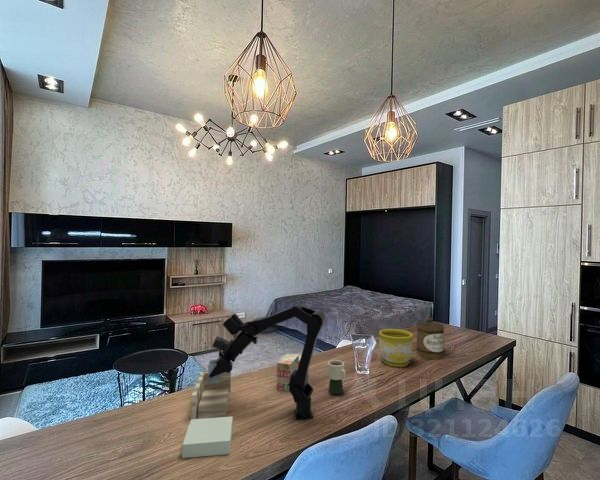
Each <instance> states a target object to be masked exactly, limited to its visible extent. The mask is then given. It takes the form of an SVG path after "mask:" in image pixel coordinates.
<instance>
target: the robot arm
mask: <svg viewBox="0 0 600 480" xmlns="http://www.w3.org/2000/svg"><path fill="white" fill-rule="evenodd" d="M292 318H297V319H298V320H299V321H301V322H302V323H303V324H306V337H305V338H306V339H305V342H304V345H303V348H302V353H301V354H300V355H301V359H300V363H299V366H298V370H296V369H295V370H294V372H293V373H292V374H291V377H290V382H289V384H288V386H289V391H290V392H289V391H288V392H289V393H290V394H291V396H292V397H293V401H294V403H295V409H294V410H293V412H294V416H295V419H296V420H298V421H299V420H309V419H311V420H312V419H314V414H313V412H312V397H311V396H312V395H313V392H314V388H313V387H312V386H311V385H310V383H309V378H310V377H309V376H310V375H309V370H310V369H309V368H310V366H311V362H312V358H313V355H314V352H315V347H316V344H317V340H318V337H319V336H320V333H321V331H322V330H323V327H324V325H325V323H326V321H327V317H326V315H325V314H324V313H323V312H322V311H320V310H317V311H316V310H314V309H312V308H309V307H304V306H302V305H300V304H294V305H293V306H291V307H289V308H287V309H284V310H281V311H279V312H277V313H274V314H272V315H269V316H262V317H257V318H255V319H253V320H250V321H246V322H243V321H242V320H241V318H239V316H238V315H237V313H234V314H232V315H231V316H230V317H229V318H228V319H226V320H225V321H224V322H223V323H222V327H223V328H225V330H226V331H227V332H228V333H229V335H231V336H236V337H235V338H234V339H230V341H229V340H227V339H224V338H222V337H220V336H216V337H215V338H214V341H213V343H212V345H211V347H212V348H214V349H217V350H219V351H218V357H217V358H216V359H217V361H216V363H217V365H216V366H215V368H214V369H213V370H212V372H211V373H210V375H209V377H210V378H211V377H214V376H216V375H219V374H222V373H224V372H227V373H228V374H229V372H230V371H231V372H232V370H233V365H234V364H233V363H234V362H235V361H236V359H237V358H238V357H239V355H242V354H243V353H244V350H245V349H247V348H248V346H249V345H250V344H252V343H253V344H254V345H256V344H258V338H259V337H258V336H257V335H260V333H262V332H263V331H265V330H267V329H269V328H270V327H272V326H275V325H278V324H280V323H283V322H285V321H288V320H290V319H292Z"/></svg>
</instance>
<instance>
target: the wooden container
mask: <svg viewBox="0 0 600 480" xmlns="http://www.w3.org/2000/svg"><path fill="white" fill-rule="evenodd" d="M426 320H427V321H419V322H417V324H416V328H417V329H416V355H417V354H418V355H417V356H418V357H421V358H423V357H424V359H427V358H429V359H428V360H441V359H444V358H445V336H444V335H445V332H444V331H445V330H444V329H445V327H444V324H443V323H439V322H434V319H433V318H432V317H427V319H426Z"/></svg>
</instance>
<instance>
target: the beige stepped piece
mask: <svg viewBox="0 0 600 480" xmlns="http://www.w3.org/2000/svg"><path fill="white" fill-rule="evenodd" d="M231 377H232V370H231V371H230V372H229V374H228V373H227V372H224V373H222V374H220V380H219V383H208V371H201V372H200V374H199V376H198V379H197V381H196V384H195V386H194V389H193V391H192V394H191V416H190V418H191V419H204V418H217V417H227V411H228V410H227V409H228V402H229V393H230V394H231V388H232V387H231V385H232V384H231V383H232V381H231V380H232V379H231ZM191 419H190V420H191Z"/></svg>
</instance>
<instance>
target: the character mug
mask: <svg viewBox="0 0 600 480" xmlns="http://www.w3.org/2000/svg"><path fill="white" fill-rule="evenodd" d="M326 370H327V376H328V377H327V378H329V385H328V392H329V394H332V395H340V394H343V393H344V386H343V379H345V378H346V370H345V362H344V361H342V360H339V359H331V360H329V361H328V362H327V363H326Z"/></svg>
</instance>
